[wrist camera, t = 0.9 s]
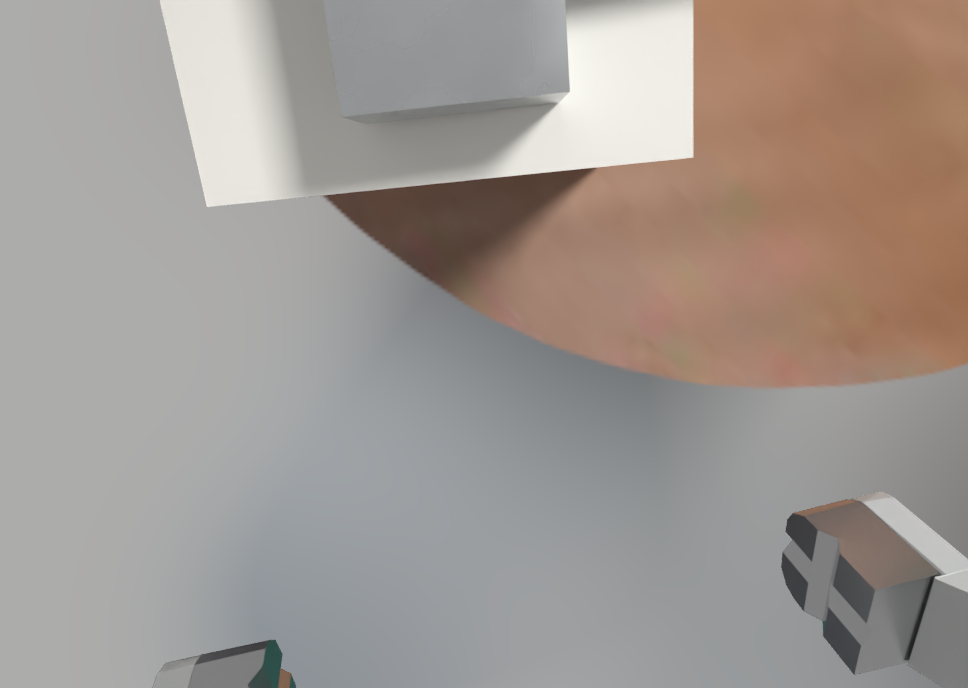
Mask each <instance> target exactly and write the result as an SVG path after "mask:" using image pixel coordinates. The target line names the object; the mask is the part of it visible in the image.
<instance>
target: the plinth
mask: <svg viewBox="0 0 968 688" xmlns="http://www.w3.org/2000/svg"><path fill="white" fill-rule="evenodd" d="M160 5H161V9H162V13H163V18H164V22H165V27H166V31H167V35H168V40H169V44H170V49H171V53H172V57H173V62H174V66H175V70H176V74H177V79H178V83H179V88H180V92H181V96H182V101H183V105H184V110H185V114H186V119H187V123H188V127H189V132H190V136H191V141H192V145H193V149H194V154H195V158H196V162H197V167H198V171H199V175H200V180H201V184H202V189H203V193H204V198H205V202H206V206H207V207H214V206H224V205H234V204H244V203H253V202H263V201H273V200H283V199H292V198H302V197H312V196H322V195H332V194H341V193H351V192H361V191H371V190H380V189H390V188H400V187H410V186H419V185H429V184H439V183H449V182H458V181H468V180H478V179H488V178H497V177H507V176H517V175H527V174H536V173H546V172H556V171H566V170H575V169H585V168H595V167H605V166H614V165H624V164H634V163H644V162H654V161H663V160H673V159H683V158H693V0H565V9H566V27H567V45H568V64H569V82H570V92H569V93H568V94H567V95H566V96H565V97H564V98H563V99H562V100H561V101H560V102H559V103H555V104H546V105H537V106H528V107H519V108H509V109H500V110H491V111H482V112H473V113H464V114H455V115H445V116H436V117H427V118H418V119H409V120H400V121H391V122H381V123H372V124H363V123H359V122H356V121H353V120H350V119H347V118H343V117H341V112H340V106H339V99H338V93H337V87H336V80H335V74H334V68H333V61H332V55H331V49H330V42H329V36H328V30H327V23H326V17H325V11H324V5H323V0H160Z"/></svg>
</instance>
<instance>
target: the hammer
mask: <svg viewBox="0 0 968 688" xmlns="http://www.w3.org/2000/svg"><path fill="white" fill-rule="evenodd" d="M323 5H324V11H325V17H326V23H327V30H328V36H329V42H330V49H331V55H332V61H333V68H334V74H335V80H336V87H337V93H338V99H339V106H340V112H341V117H343V118H347V119H350V120H353V121H356V122H359V123H363V124H372V123H381V122H391V121H400V120H409V119H418V118H427V117H436V116H445V115H455V114H464V113H473V112H482V111H491V110H500V109H509V108H519V107H528V106H537V105H546V104H555V103H559V102H560V101H561V100H562V99H563V98H564V97H565V96H566V95H567V94H568V93H569V92H570V82H569V64H568V45H567V27H566V9H565V0H323Z"/></svg>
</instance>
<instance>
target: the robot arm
mask: <svg viewBox="0 0 968 688" xmlns="http://www.w3.org/2000/svg"><path fill="white" fill-rule="evenodd" d="M786 533H787V534H788V535H789V536H790V537H791V538H792V541H791V542H790V543H789V545H788V546H787V547H786V548H785V550H784V551H783V554H782V566H781V567H782V571H783V575H784V578H785V582H786V585H787V587H788V589H789V591H790V592H791V594H792V596H793V598H794V599H795V601H796V602H797V603H798V604H799V606H800V607H801V608H802V610H803V611H804V612H806V613H808V614H810V615H812V616H814V617H816V618H818V619H819V620H822V621H823V636H824V638H825V639H826V640H827V641H828V643H829V644H830V645H831V647H832V648H833V649H834V650H835V651H836V653H837V654H838V655H839V657H840V658H841V659H842V660H843V662H844V663H845V664H846V665H847V666H848V668H849V669H850V670H851V672H852V673H853V674H854V675H856V674H861V673H865V672H869V671H873V670H878V669H882V668H886V667H890V666H894V665H898V664H902V663H906V662H908V666H909V667H911V668H912V669H914V670H915V671H917V672H919V673H920V674H922V675H923V676H925V677H927V678H928V679H930V680H931V681H933V682H935V683H936V684H938V685H940V686H941V687H943V688H968V559H967V558H966V557H965V556H963V555H962V554H961V553H960V552H959V551H957V550H956V549H955V548H954V547H953V546H951V545H950V544H949V543H948V542H947V541H945V540H944V539H943V538H942V537H941V536H939V535H938V534H937V533H936V532H935V531H933V530H932V529H931V528H930V527H928V526H927V525H926V524H925V523H924V522H923V521H921V520H920V519H919V518H918V517H917V516H915V515H914V514H913V513H912V512H911V511H909V510H908V509H907V508H906V507H905V506H903V505H902V504H901V503H900V502H898V501H897V500H896V499H895V498H894V497H892V496H891V495H889V494H886V493H884V492H877V493H873V494H869V495H865V496H861V497H856V498H852V499H850V500H847V499H846V500H842V501H838V502H834V503H830V504H826V505H822V506H818V507H815V508H811V509H807V510H803V511H799V512H796V513H793V514H792V515H791V516H790V517H789V518H788V519H787V526H786ZM281 661H282V652H281V650H280V648H279V646H278V644H277V642H276V640H268V641H263V642H259V643H254V644H249V645H244V646H240V647H235V648H231V649H226V650H221V651H216V652H212V653H207V654H202V655H199V656H194V657H190V658H186V659H181V660H177V661H172V662H168V663H165V664H164V666H163V667H162V669H161V670H160V671H159V673H158V674H157V676H156V678H155V682H154V684H153V687H152V688H296V685H295V682H294V680H293V677H292V675H291V673H289V672H287V671H285V670H283V669H281Z"/></svg>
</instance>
